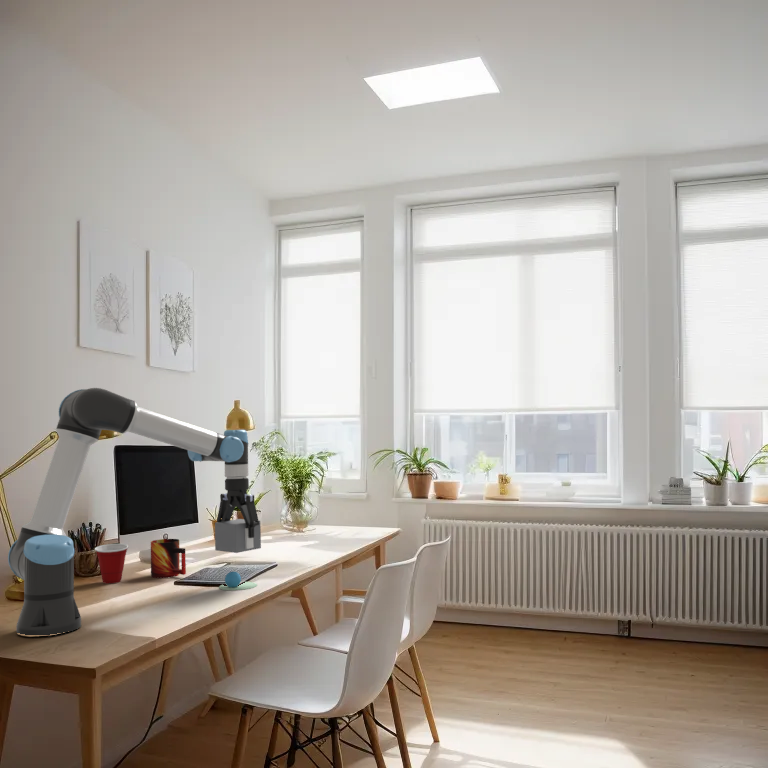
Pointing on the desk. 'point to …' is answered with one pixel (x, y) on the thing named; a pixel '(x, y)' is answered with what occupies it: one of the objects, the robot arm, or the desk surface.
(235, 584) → the ball
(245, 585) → the disc
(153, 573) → the mug
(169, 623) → the desk surface
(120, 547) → the plastic cup
